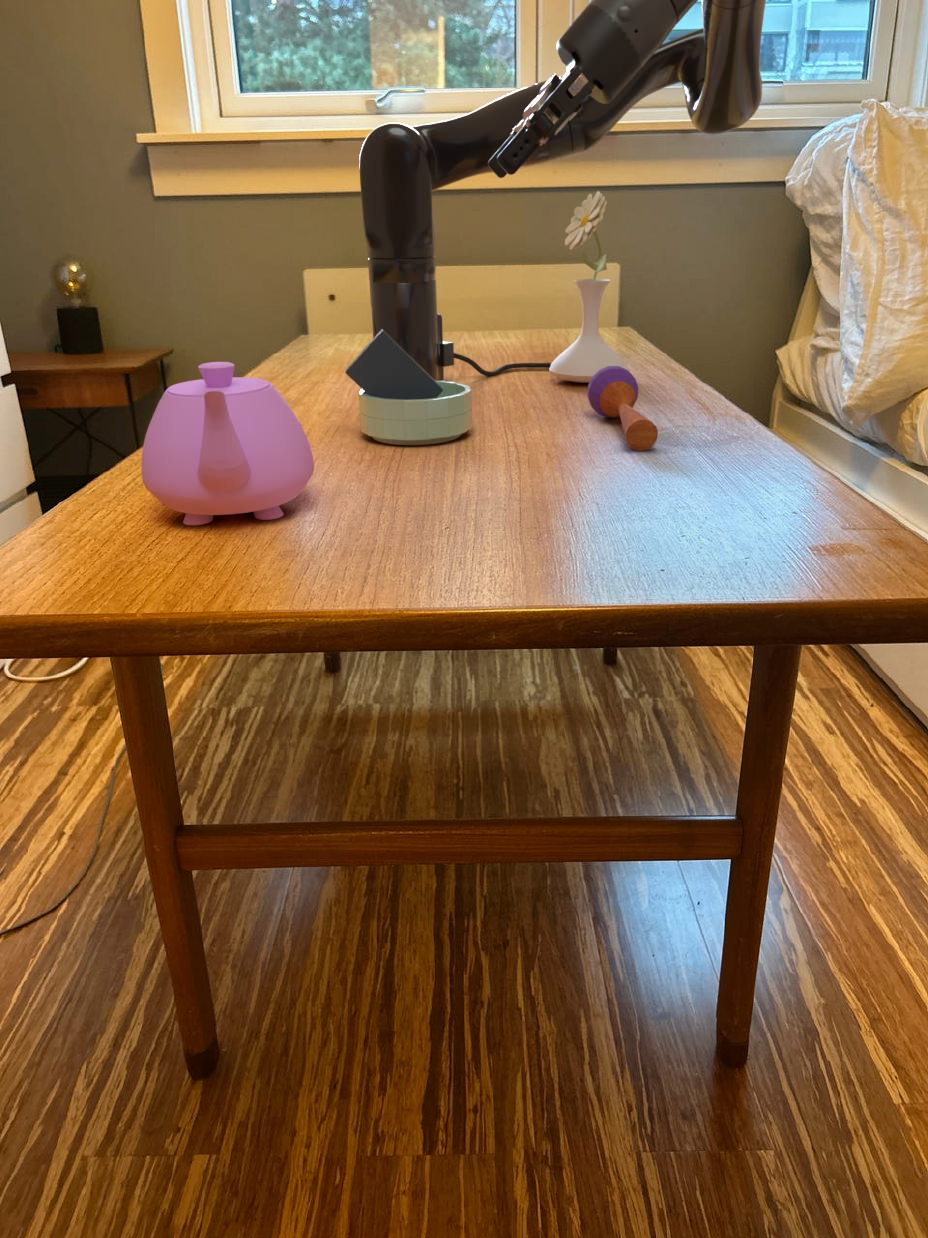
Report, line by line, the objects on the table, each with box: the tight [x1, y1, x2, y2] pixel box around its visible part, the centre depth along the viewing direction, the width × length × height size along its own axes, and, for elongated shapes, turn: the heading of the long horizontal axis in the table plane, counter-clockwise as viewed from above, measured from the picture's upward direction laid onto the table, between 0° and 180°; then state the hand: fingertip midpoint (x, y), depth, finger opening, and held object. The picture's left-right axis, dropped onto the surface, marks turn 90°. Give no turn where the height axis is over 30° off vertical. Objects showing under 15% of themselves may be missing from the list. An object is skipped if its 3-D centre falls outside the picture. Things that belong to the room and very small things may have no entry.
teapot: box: [140, 361, 315, 526], centre depth 74 cm, size 20×14×12 cm
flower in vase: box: [549, 190, 629, 384], centre depth 125 cm, size 13×11×25 cm
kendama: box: [586, 366, 659, 452], centre depth 101 cm, size 6×6×20 cm
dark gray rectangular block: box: [344, 329, 443, 400], centre depth 99 cm, size 3×6×9 cm
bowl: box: [358, 380, 473, 446], centre depth 101 cm, size 12×12×5 cm
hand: (498, 169), depth 91 cm, fingers open, 8 cm apart
